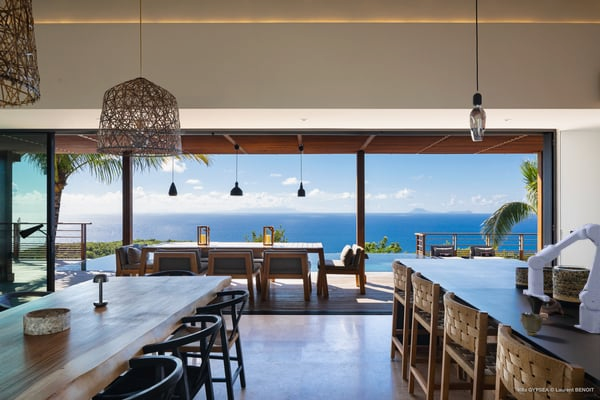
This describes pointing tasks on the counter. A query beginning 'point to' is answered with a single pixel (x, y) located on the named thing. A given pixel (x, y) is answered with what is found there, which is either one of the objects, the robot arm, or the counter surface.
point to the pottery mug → (551, 306)
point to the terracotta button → (544, 315)
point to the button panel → (542, 321)
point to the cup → (532, 323)
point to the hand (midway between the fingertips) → (535, 314)
